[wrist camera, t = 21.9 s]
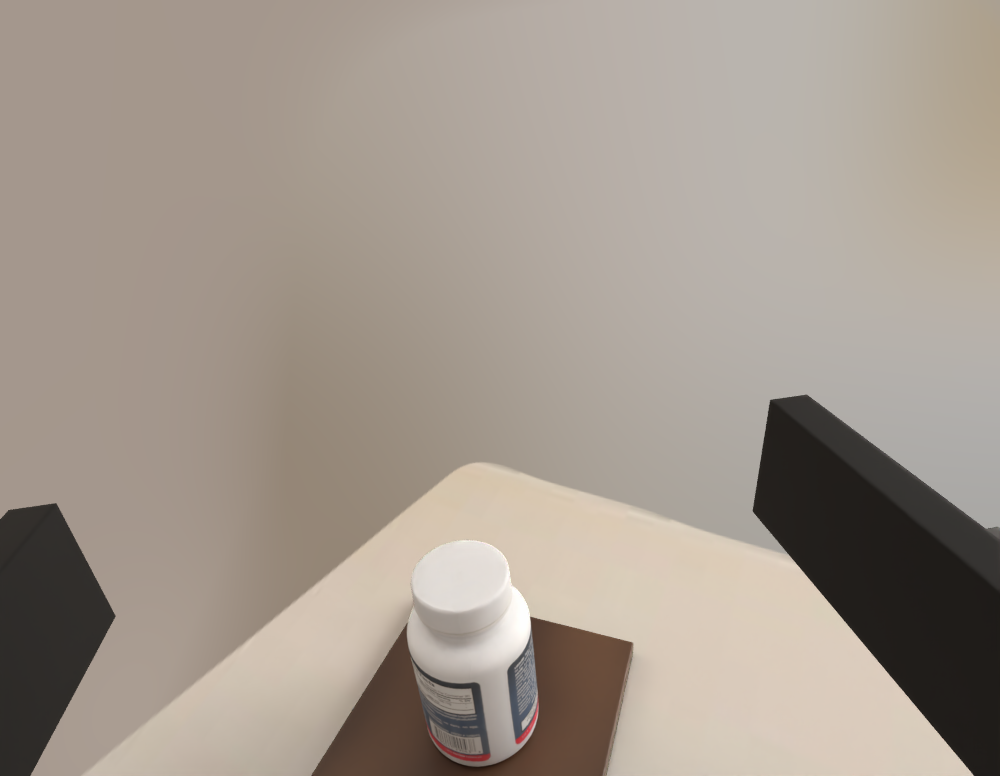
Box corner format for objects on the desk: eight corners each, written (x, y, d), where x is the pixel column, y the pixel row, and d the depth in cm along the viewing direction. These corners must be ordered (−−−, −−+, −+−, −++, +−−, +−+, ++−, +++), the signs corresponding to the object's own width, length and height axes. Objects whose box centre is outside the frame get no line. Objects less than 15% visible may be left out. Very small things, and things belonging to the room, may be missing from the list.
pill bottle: (510, 648, 31) (496, 513, 27) (559, 736, 26) (551, 591, 22) (412, 691, 29) (381, 553, 25) (447, 793, 25) (417, 647, 21)
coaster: (300, 809, 25) (296, 798, 25) (429, 600, 35) (427, 590, 35) (572, 928, 21) (572, 917, 21) (633, 652, 31) (633, 642, 30)
